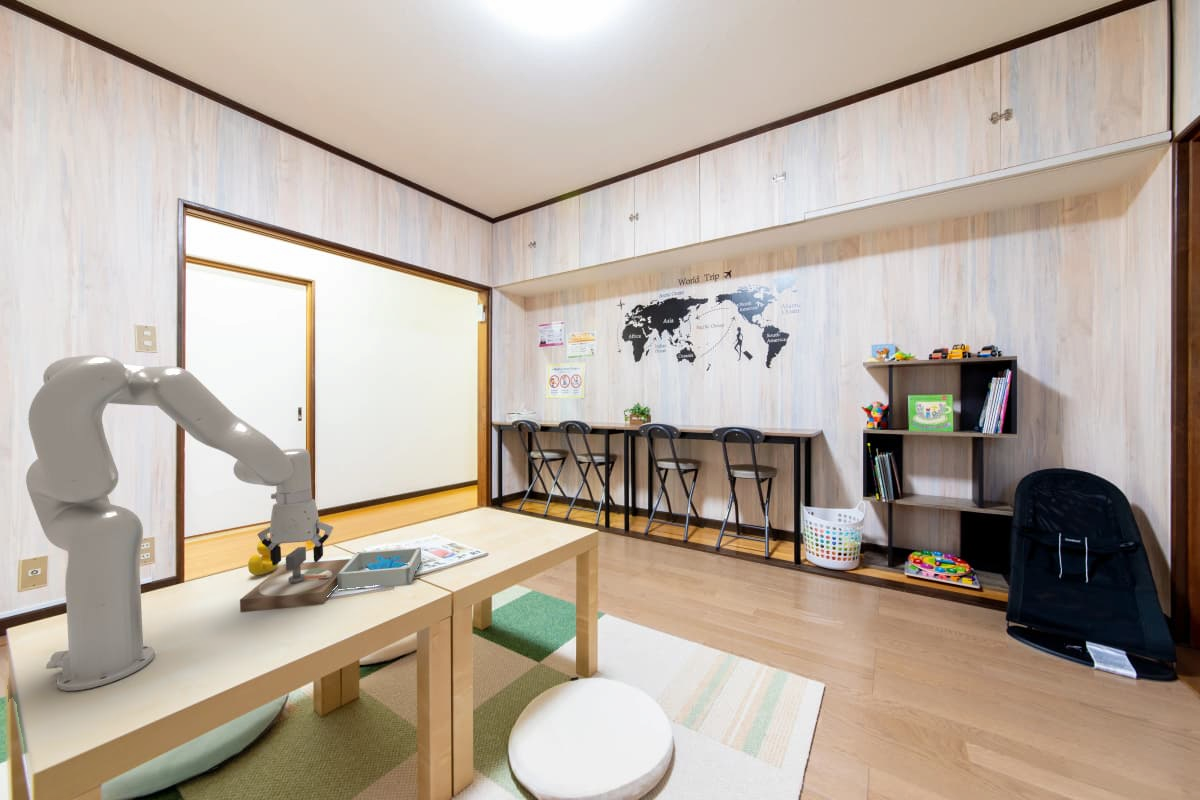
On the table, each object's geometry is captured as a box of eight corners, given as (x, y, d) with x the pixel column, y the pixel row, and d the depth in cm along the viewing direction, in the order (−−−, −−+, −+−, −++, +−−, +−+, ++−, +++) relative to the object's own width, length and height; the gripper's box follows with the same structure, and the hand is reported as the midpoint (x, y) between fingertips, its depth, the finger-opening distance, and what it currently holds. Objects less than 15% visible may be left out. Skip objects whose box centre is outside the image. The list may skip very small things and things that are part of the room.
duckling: (272, 564, 138) (271, 531, 137) (290, 564, 137) (289, 531, 137) (242, 580, 126) (240, 545, 126) (260, 580, 126) (259, 545, 126)
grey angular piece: (282, 586, 114) (281, 557, 114) (295, 575, 121) (294, 547, 121) (321, 583, 116) (320, 554, 116) (331, 572, 123) (331, 544, 123)
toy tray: (337, 591, 119) (337, 574, 119) (357, 567, 135) (357, 552, 135) (410, 584, 123) (409, 568, 123) (421, 561, 138) (420, 547, 138)
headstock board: (240, 611, 108) (239, 598, 108) (284, 574, 130) (284, 563, 130) (322, 603, 112) (322, 590, 112) (352, 568, 134) (352, 557, 133)
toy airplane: (363, 573, 131) (363, 559, 130) (399, 564, 137) (398, 550, 137) (375, 587, 122) (374, 572, 122) (412, 576, 128) (411, 562, 128)
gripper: (248, 503, 112) (252, 570, 113) (325, 498, 115) (328, 564, 116) (264, 495, 119) (267, 559, 120) (336, 491, 123) (338, 553, 123)
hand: (297, 561), depth 118 cm, fingers open, 9 cm apart
